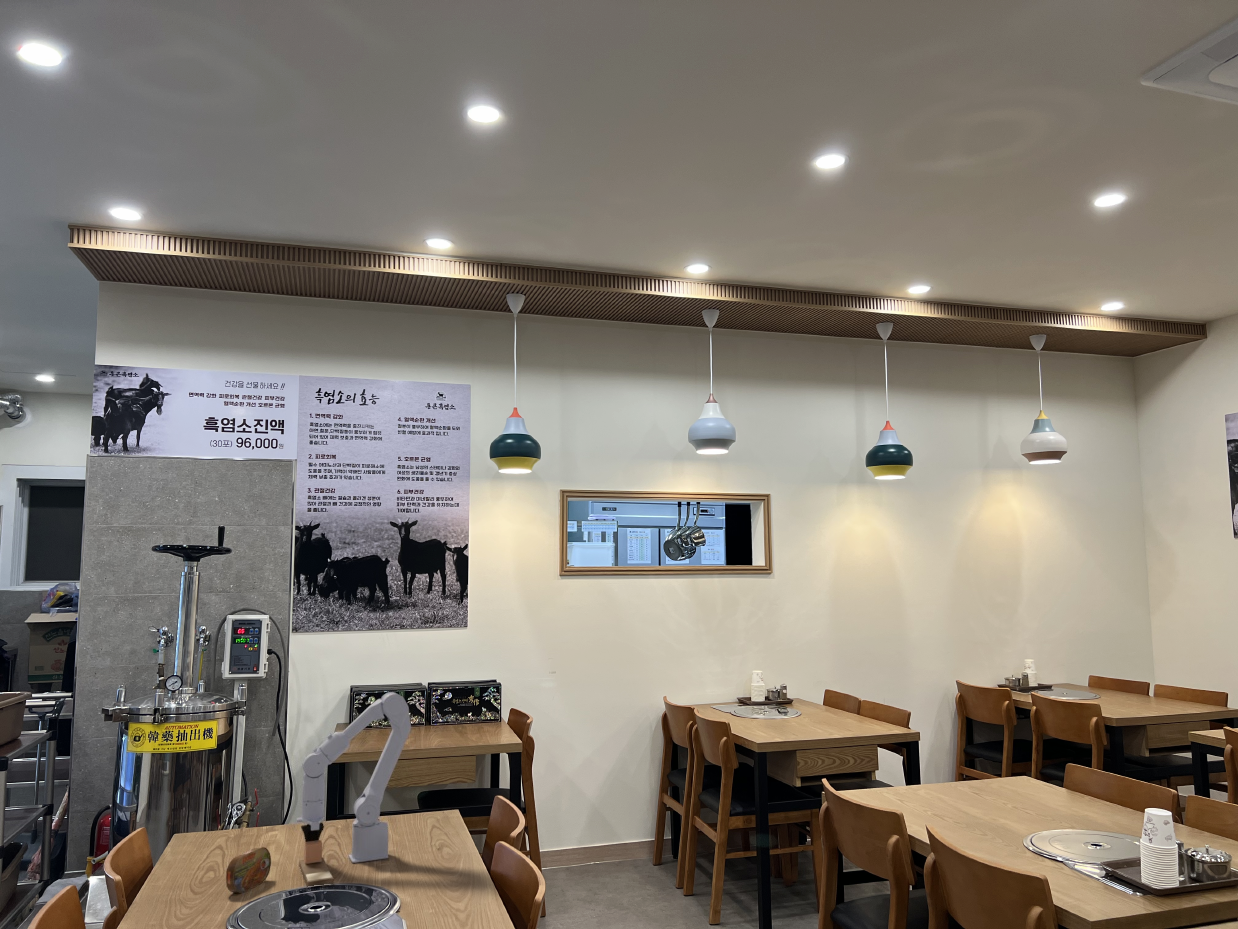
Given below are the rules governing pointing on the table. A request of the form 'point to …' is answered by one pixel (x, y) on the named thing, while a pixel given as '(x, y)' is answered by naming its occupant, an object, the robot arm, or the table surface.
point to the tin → (248, 870)
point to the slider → (313, 851)
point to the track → (316, 873)
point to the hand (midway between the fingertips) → (311, 853)
